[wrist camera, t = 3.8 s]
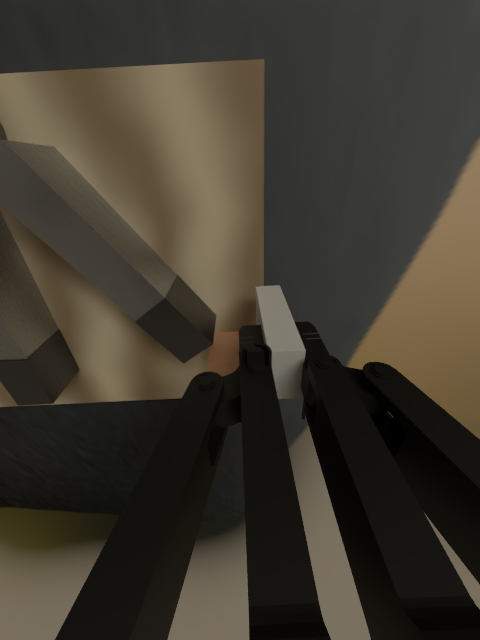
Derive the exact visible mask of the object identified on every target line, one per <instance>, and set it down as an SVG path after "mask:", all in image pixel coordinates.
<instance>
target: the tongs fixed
mask: <svg viewBox="0 0 480 640" xmlns="http://www.w3.org/2000/svg"><path fill="white" fill-rule="evenodd" d="M0 140H7V137H6V133H5V131H4V128H3V126H2V124H1V122H0ZM79 370H80V369H79V367H78V365H77V363H76V361H75V359H74V357H73V355H72V353H71V351H70V349H69V347H68V345H67V343H66V341H65V339H64V337H63V335H62V333H61V331H60V329H59V328H58V326H57V324H56V322H55V320H54V318H53V316H52V314H51V312H50V310H49V308H48V306H47V304H46V302H45V300H44V298H43V296H42V294H41V292H40V290H39V288H38V286H37V284H36V282H35V280H34V278H33V276H32V274H31V271H30V269H29V267H28V265H27V263H26V261H25V259H24V257H23V255H22V253H21V251H20V249H19V247H18V245H17V243H16V241H15V239H14V237H13V235H12V233H11V231H10V229H9V227H8V225H7V223H6V221H5V219H4V217H3V215H2V213H1V211H0V382H1V383H2V384H3V386H4V387H5V388H6V390H7V391H8V393H9V394H10V395H11V397H12V398H13V399H14V401H15V402H16V403H17V405H18V406H20V405H40V404H53V403H54V402H55V401H56V399H57V398H58V397H59V396H60V394H61V393H62V392H63V390H64V389H65V388H66V386H67V385H68V384H69V383H70V381H71V380H72V379H73V377H74V376H75V375H76V374H77V372H78V371H79Z"/></svg>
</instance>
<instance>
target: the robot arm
mask: <svg viewBox="0 0 480 640" xmlns="http://www.w3.org/2000/svg"><path fill="white" fill-rule="evenodd" d="M301 390H302V393H303V396H304V402H303V410H302V419H305V415H306V418H307V421H308V425H309V428H310V432H311V435H312V438H313V442H314V445H315V448H316V452H317V456H318V459H319V462H320V465H321V469H322V473H323V476H324V479H325V483H326V486H327V489H328V493H329V496H330V500H331V503H332V507H333V510H334V513H335V517H336V520H337V524H338V527H339V531H340V534H341V537H342V541H343V544H344V547H345V551H346V554H347V558H348V561H349V565H350V568H351V571H352V575H353V577H354V582H355V585H356V589H357V592H358V595H359V598H360V602H361V605H362V609H363V612H364V615H365V619H366V623H367V626H368V629H369V633H370V637H371V640H480V609H479V608H478V607H477V606H476V605H475V603H474V601H473V600H472V599H471V597H470V595H469V593H468V591H467V590H466V588H465V586H464V584H463V582H462V580H461V579H460V577H459V575H458V573H457V572H456V570H455V568H454V566H453V564H452V563H451V561H450V559H449V557H448V555H447V554H446V552H445V550H444V548H443V546H442V545H441V543H440V541H439V539H438V537H437V536H436V534H435V532H434V530H433V528H432V527H431V525H430V523H429V521H428V520H427V517H428V518H429V519H430V520H431V522H432V523H433V524H434V526H435V527H436V528H437V530H438V531H439V532H440V533H441V535H442V536H443V537H444V539H445V540H446V541H447V543H448V544H449V545H450V546H451V548H452V549H453V550H454V552H455V553H456V554H457V555H458V557H459V558H460V559H461V561H462V562H463V563H464V565H465V566H466V567H467V568H468V570H469V571H470V572H471V574H472V575H473V576H474V577H475V579H476V580H477V581H478V582H479V584H480V439H478V438H477V437H476V436H475V435H473V434H472V433H471V432H470V431H469V430H468V429H466V428H465V427H464V426H463V425H461V424H460V423H459V422H458V421H457V420H456V419H454V418H453V417H452V416H451V415H450V414H448V413H447V412H446V411H445V410H444V409H443V408H441V407H440V406H439V405H438V404H436V403H435V402H434V401H433V400H432V399H430V398H429V397H428V396H427V395H426V394H424V393H423V392H422V391H421V390H420V389H419V388H417V387H416V386H415V385H414V384H413V383H411V382H410V381H409V380H408V379H407V378H405V377H404V376H403V375H402V374H401V373H400V372H398V371H397V370H396V369H394V368H393V367H391V366H390V365H387V364H384V363H380V362H369V363H367V364H365V365H364V367H363V370H359V369H354V368H349V367H345V366H342V364H341V363H340V361H339V360H338V359H337V358H335V357H333V356H331V355H329V353H328V351H327V349H326V347H325V345H324V343H323V341H322V340H321V339H320V336H319V334H318V332H317V330H316V328H315V326H313V325H312V324H311V323H309V322H294V320H293V318H292V315H291V313H290V310H289V308H288V305H287V303H286V300H285V298H284V295H283V293H282V290H281V288H280V285H278V286H259V287H256V325H248V326H242V327H241V329H240V330H239V366H238V368H237V369H236V370H235V371H234V372H233V373H231V374H228V375H226V376H221V375H219V374H218V373H215V372H212V371H211V372H203V373H199V374H198V375H196V376H195V377H194V378H193V379H192V380H191V381H190V383H189V385H188V387H187V389H186V391H185V393H184V395H183V397H182V399H181V400H180V402H179V404H178V406H177V408H176V410H175V412H174V414H173V416H172V418H171V420H170V421H169V423H168V425H167V427H166V429H165V431H164V433H163V435H162V437H161V439H160V440H159V442H158V444H157V446H156V448H155V450H154V452H153V454H152V456H151V458H150V460H149V461H148V463H147V465H146V467H145V469H144V471H143V473H142V475H141V477H140V479H139V481H138V482H137V484H136V486H135V488H134V490H133V492H132V494H131V496H130V498H129V500H128V501H127V503H126V505H125V507H124V509H123V511H122V513H121V515H120V517H119V519H118V521H117V522H116V524H115V526H114V528H113V530H112V532H111V534H110V536H109V538H108V540H107V542H106V543H105V545H104V547H103V549H102V551H101V553H100V555H99V557H98V559H97V561H96V563H95V564H94V566H93V568H92V570H91V572H90V574H89V576H88V578H87V580H86V582H85V583H84V585H83V587H82V589H81V591H80V593H79V595H78V597H77V599H76V601H75V602H74V605H73V606H72V608H71V610H70V612H69V614H68V616H67V618H66V620H65V622H64V624H63V625H62V627H61V629H60V631H59V633H58V635H57V637H56V639H55V640H167V638H168V635H169V631H170V628H171V624H172V621H173V618H174V614H175V610H176V607H177V604H178V600H179V597H180V593H181V590H182V586H183V583H184V579H185V576H186V572H187V569H188V565H189V562H190V559H191V555H192V552H193V548H194V545H195V541H196V537H197V534H198V531H199V527H200V524H201V520H202V517H203V513H204V510H205V506H206V503H207V499H208V496H209V493H210V489H211V486H212V482H213V479H214V475H215V472H216V468H217V465H218V461H219V458H220V454H221V451H222V447H223V444H224V440H225V437H226V433H227V430H228V426H231V425H234V424H236V423H239V422H242V443H243V469H244V495H245V520H246V548H247V573H248V597H249V598H248V600H249V631H250V632H249V637H250V640H331V639H330V636H329V634H328V631H327V629H326V626H325V624H324V621H323V617H322V614H321V610H320V606H319V601H318V596H317V591H316V586H315V581H314V576H313V571H312V566H311V561H310V556H309V551H308V546H307V541H306V536H305V531H304V526H303V521H302V516H301V511H300V506H299V501H298V496H297V491H296V487H295V481H294V476H293V471H292V466H291V461H290V457H289V451H288V446H287V441H286V436H285V431H284V426H283V421H282V416H281V411H280V406H279V401H278V399H290V398H301ZM388 412H389V413H390V414H391V415H392V416H393V417H392V416H391V415H390V414H389V413H388ZM423 511H424V512H423ZM424 513H425V514H426V515H427V517H426V516H425V514H424Z"/></svg>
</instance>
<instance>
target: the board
mask: <svg viewBox="0 0 480 640" xmlns="http://www.w3.org/2000/svg"><path fill="white" fill-rule="evenodd" d="M0 122H1V124H2V126H3V128H4V131H5V133H6V137H7V140H8V141H16V142H23V143H31V144H38V145H46V146H54V147H55V148H56V149H57V150H58V151H59V152H60V153H61V154H62V155H63V156H64V157H65V158H66V159H67V160H68V161H69V162H70V163H71V165H72V166H73V167H74V168H75V169H76V170H77V171H78V172H79V173H80V174H81V175H82V176H83V177H84V178H85V179H86V180H87V181H88V182H89V183H90V184H91V185H92V186H93V188H94V189H95V190H96V191H97V192H98V193H99V194H100V195H101V196H102V197H103V198H104V199H105V200H106V201H107V202H108V203H109V204H110V205H111V206H112V207H113V208H114V210H115V211H116V212H117V213H118V214H119V215H120V216H121V217H122V218H123V219H124V220H125V221H126V222H127V223H128V224H129V225H130V226H131V227H132V228H133V229H134V230H135V231H136V233H137V234H138V235H139V236H140V237H141V238H142V239H143V240H144V241H145V242H146V243H147V244H148V245H149V246H150V247H151V248H152V249H153V250H154V251H155V252H156V253H157V254H158V256H159V257H160V258H161V259H162V260H163V261H164V262H165V263H166V264H167V265H168V266H169V267H170V268H171V269H172V270H173V271H174V272H175V273H176V274H177V275H179V277H180V278H181V279H182V280H183V281H184V282H185V283H186V284H187V285H188V286H189V287H190V288H191V289H192V290H193V291H194V292H195V293H196V294H197V295H198V296H199V298H200V299H201V300H202V301H203V302H204V303H205V304H206V305H207V306H208V307H209V308H210V309H211V310H212V311H213V312H214V313H215V314H216V323H215V331H214V333H217V332H237V331H239V330H240V329H241V327H242V326H248V325H256V287H259V286H264V59H257V60H239V61H221V62H203V63H186V64H168V65H150V66H132V67H114V68H96V69H78V70H60V71H42V72H24V73H6V74H0ZM0 211H1V213H2V215H3V217H4V219H5V221H6V223H7V225H8V227H9V229H10V231H11V233H12V235H13V237H14V239H15V241H16V243H17V245H18V247H19V249H20V251H21V253H22V255H23V257H24V259H25V261H26V263H27V265H28V267H29V269H30V271H31V274H32V276H33V278H34V280H35V282H36V284H37V286H38V288H39V290H40V292H41V294H42V296H43V298H44V300H45V302H46V304H47V306H48V308H49V310H50V312H51V314H52V316H53V318H54V320H55V322H56V324H57V326H58V328H59V329H60V331H61V333H62V335H63V337H64V339H65V341H66V343H67V345H68V347H69V349H70V351H71V353H72V355H73V357H74V359H75V361H76V363H77V365H78V367H79V369H80V370H79V371H78V372H77V374H76V375H75V376H74V377H73V379H72V380H71V381H70V383H69V384H68V385H67V386H66V388H65V389H64V390H63V392H62V393H61V394H60V396H59V397H58V398H57V399H56V401H55V402H54V403H53V404H72V403H93V402H114V401H134V400H155V399H176V398H182V397H183V395H184V393H185V391H186V389H187V387H188V385H189V383H190V381H191V380H192V379H193V378H194V377H195V376H196V375H198V374H199V373H203V372H209V369H208V356H209V349H210V347H208V348H207V349H205V350H204V351H202V352H201V353H199V354H197V355H196V356H194V357H193V358H191V359H190V360H188V361H187V362H185V363H184V364H183V363H182V362H181V361H180V360H179V359H177V358H176V357H175V356H174V355H173V354H172V353H170V352H169V351H168V350H167V349H166V348H164V347H163V346H162V345H161V344H160V343H159V342H157V341H156V340H155V339H154V338H153V337H152V336H150V335H149V334H148V333H147V332H146V331H145V330H143V329H142V328H141V327H140V326H139V325H137V324H136V323H135V321H136V320H134V319H133V318H132V317H131V316H130V315H129V314H127V313H126V312H125V311H124V310H123V309H122V308H120V307H119V306H118V305H117V304H116V303H115V302H113V301H112V300H111V299H110V298H109V297H108V296H106V295H105V294H104V293H103V292H102V291H101V290H99V289H98V288H97V287H96V286H95V285H94V284H92V283H91V282H90V281H89V280H88V279H87V278H85V277H84V276H83V275H82V274H81V273H80V272H78V271H77V270H76V269H75V268H74V267H73V266H71V265H70V264H69V263H68V262H67V261H66V260H64V259H63V258H62V257H61V256H60V255H59V254H57V253H56V252H55V251H54V250H53V249H52V248H50V247H49V246H48V245H47V244H46V243H45V242H43V241H42V240H41V239H40V238H39V237H38V236H36V235H35V234H34V233H33V232H32V231H31V230H29V229H28V228H27V227H26V226H25V225H24V224H22V223H21V222H20V221H19V220H18V219H17V218H15V217H14V216H13V215H12V214H11V213H10V212H8V211H7V210H6V209H5V208H4V207H3V206H1V205H0ZM40 405H52V404H40ZM10 406H18V405H17V403H16V402H15V401H14V399H13V398H12V397H11V395H10V394H9V393H8V391H7V390H6V388H5V387H4V386H3V384H2V383H1V382H0V407H10ZM20 406H31V405H20Z"/></svg>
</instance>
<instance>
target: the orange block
mask: <svg viewBox="0 0 480 640" xmlns="http://www.w3.org/2000/svg"><path fill="white" fill-rule="evenodd" d="M238 366H239V331H237V332H217V333H214V340H213V345H211V346H210V349H209V356H208V369H209V372H211V371H212V372H215V373H218V374H219V375H221V376H226V375H228V374H231V373H233V372H234V371H235V370H236V369H237V368H238Z"/></svg>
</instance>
